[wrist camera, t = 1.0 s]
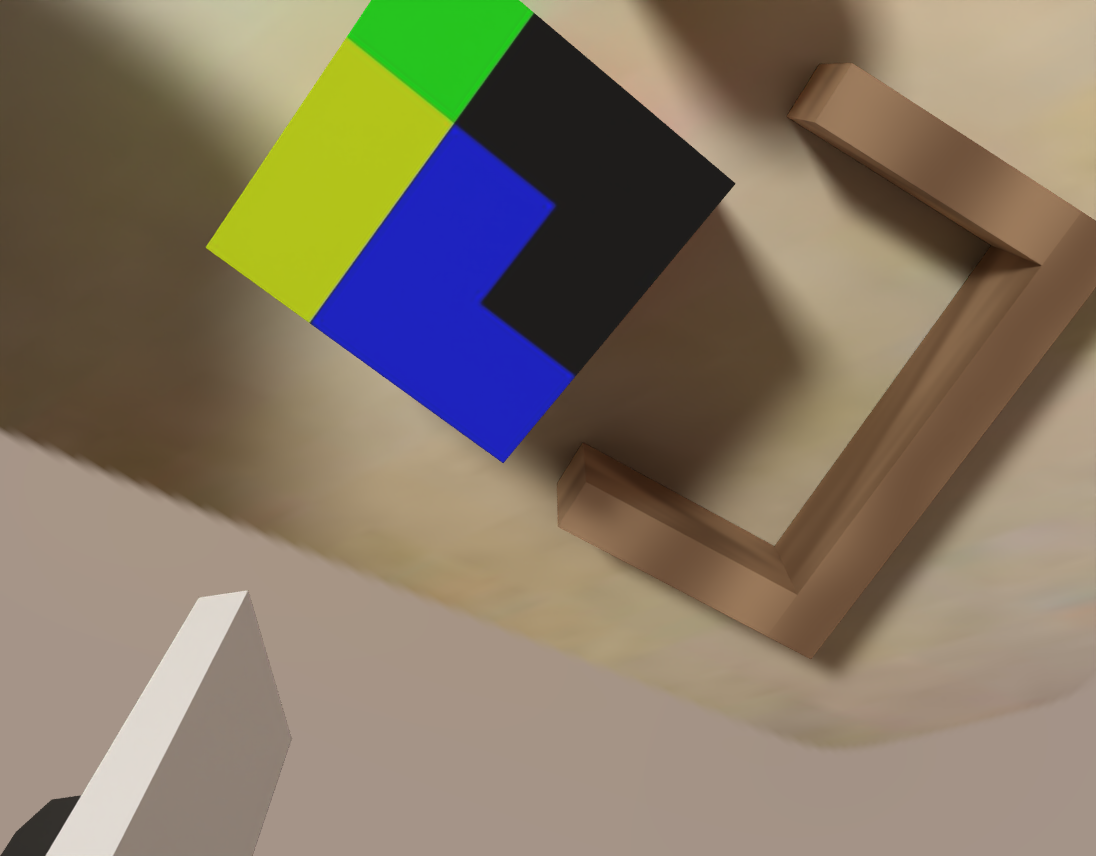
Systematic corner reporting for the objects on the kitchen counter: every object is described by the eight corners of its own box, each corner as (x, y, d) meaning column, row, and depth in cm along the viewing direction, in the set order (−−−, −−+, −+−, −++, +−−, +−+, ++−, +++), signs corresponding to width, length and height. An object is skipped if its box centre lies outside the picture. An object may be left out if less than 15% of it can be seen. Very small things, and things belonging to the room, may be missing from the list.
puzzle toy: (514, 366, 38) (503, 463, 29) (295, 201, 36) (205, 247, 27) (687, 153, 36) (735, 183, 26) (460, -39, 34) (425, -80, 24)
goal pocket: (557, 483, 40) (557, 526, 36) (819, 63, 35) (852, 63, 31) (787, 606, 42) (810, 659, 38) (1070, 224, 36) (1129, 242, 33)
